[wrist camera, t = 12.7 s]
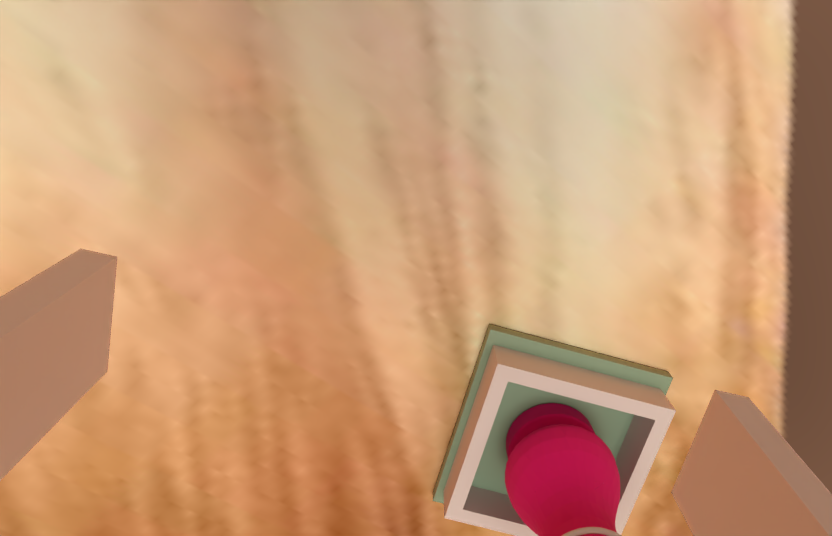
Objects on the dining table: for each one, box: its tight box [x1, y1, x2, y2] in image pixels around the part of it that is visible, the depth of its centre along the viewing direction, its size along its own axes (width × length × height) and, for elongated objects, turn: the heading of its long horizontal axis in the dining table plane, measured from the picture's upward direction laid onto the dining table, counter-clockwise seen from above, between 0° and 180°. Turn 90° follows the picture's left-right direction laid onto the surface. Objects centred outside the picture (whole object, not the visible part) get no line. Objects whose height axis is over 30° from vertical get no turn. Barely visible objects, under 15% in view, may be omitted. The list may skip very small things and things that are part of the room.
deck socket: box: [433, 324, 676, 536], centre depth 47 cm, size 14×13×4 cm
